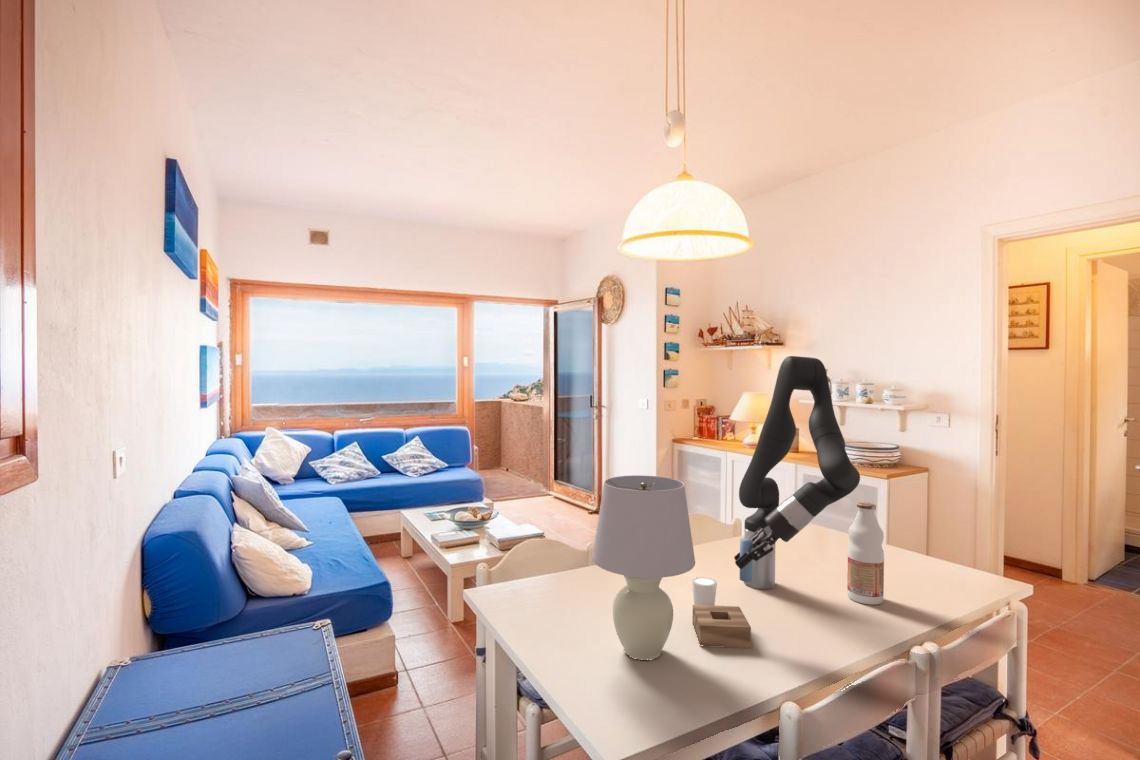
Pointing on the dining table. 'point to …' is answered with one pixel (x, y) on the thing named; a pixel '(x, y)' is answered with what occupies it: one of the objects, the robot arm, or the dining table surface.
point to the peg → (747, 570)
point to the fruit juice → (866, 557)
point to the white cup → (704, 591)
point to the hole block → (721, 626)
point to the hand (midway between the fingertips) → (737, 563)
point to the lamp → (643, 555)
